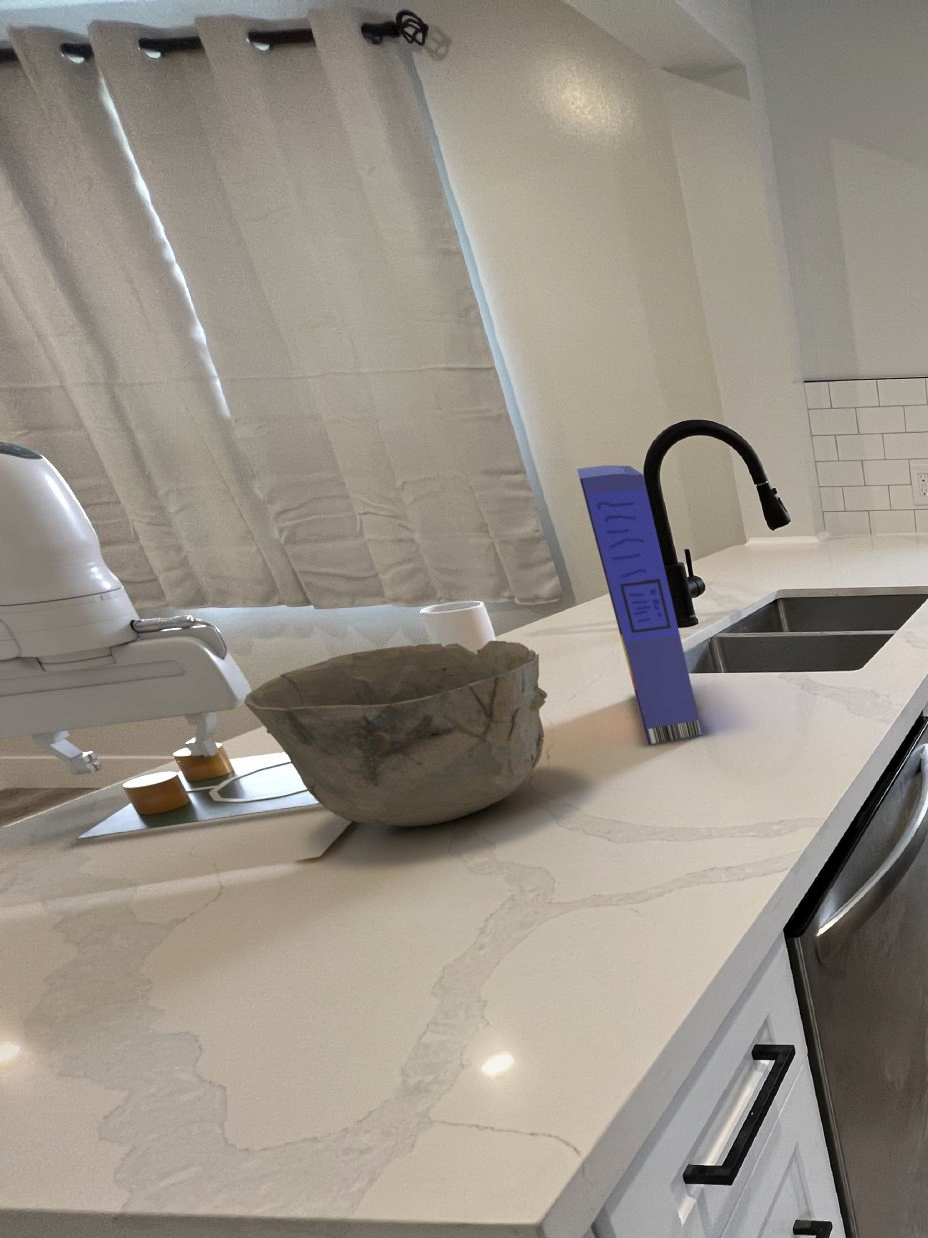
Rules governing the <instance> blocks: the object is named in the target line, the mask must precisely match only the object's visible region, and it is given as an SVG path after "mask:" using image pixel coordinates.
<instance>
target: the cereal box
mask: <svg viewBox="0 0 928 1238" xmlns="http://www.w3.org/2000/svg"><path fill="white" fill-rule="evenodd" d="M576 471H577V474H578V479H579V481H580V482H579V483H580V486H581V490H582V493H583V494H582V495H583V498H584V502H585V505H586V509H587V513H588V517H589V520H590V524H591V528H592V532H593V536H594V541H595V543H596V548H597V552H598V556H599V559H600V563H601V567H602V571H603V575H604V578H605V583H606V587H607V590H608V591H607V592H608V594H609V598H610V602H611V605H612V610H613V613H614V618H615V621H616V626H617V629H618V633H619V637H620V641H621V645H622V649H623V652H624V656H625V661H626V665H627V668H628V671H629V676H630V679H631V683H632V687H633V691H634V695H635V698H636V702H637V706H638V709H639V713H640V717H641V721H642V724H643V728H644V732H645V736H646V739H647V744H648V745H649V746H651V745H657V744H662V743H667V742H673V741H678V740H684V739H690V738H694V737H695V738H696V737H699V736H703V731H702V727H701V722H700V717H699V713H698V709H697V704H696V701H695V697H694V696H695V695H694V692H693V686H692V682H691V679H690V675H689V669H688V666H687V659H686V657H685V653H684V648H683V643H682V638H681V634H680V630H679V626H678V620H677V617H676V613H675V609H674V603H673V600H672V594H671V590H670V586H669V582H668V577H667V573H666V569H665V564H664V560H663V556H662V551H661V546H660V541H659V538H658V533H657V529H656V525H655V521H654V517H653V511H652V508H651V503H650V499H649V494H648V490H647V485H646V481H645V477H644V476H645V475H644V474H643V473H641V472H640V471H638V470H637V469H635V468H634V467H632V466H631V465H618V464H617V465H616V464H615V465H614V464H612V465H610V464H609V465H605V464H604V465H597V466H590V467H582V468H576Z"/></svg>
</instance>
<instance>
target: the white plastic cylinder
mask: <svg viewBox="0 0 928 1238" xmlns="http://www.w3.org/2000/svg"><path fill="white" fill-rule="evenodd" d="M420 614H421V617H422V621H423V625H424V628H425V631H426V634H427V637H428V639H429V643H430V644H441V645H442V646H443V647H445V646H446V645H448V644H455V643H457V644H459V645H461V646H462V647H464V648H466V649H467V650H469V651H471V652H474V653H475V654H476V655H477V650H479V649H482V648H483V647H484V646H485V645H486V644H487V643H488V642H489V641H497V638H496V635H495V631H494V627H493V624H492V621H491V618H490V616H489V615H490V614H489V613H488V610H487V607H486V604H485V603H484V602H483V601H478V600H466V601H454V602H447V603H440V604H435V605H431V606H428V607H427V606H426V607H424V608H422V609H421V610H420Z"/></svg>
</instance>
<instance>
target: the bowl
mask: <svg viewBox="0 0 928 1238" xmlns="http://www.w3.org/2000/svg"><path fill="white" fill-rule="evenodd" d="M539 663H540V654H539V653H537V654H536V652H535V650H533V649H529V648H528V647H527V646H526V645H524V644H523V643H520V642H515V641H507V640H496V641H489V642H488V643H487V644H486V645H485V646H484V647H483V648H482V649H479V650H477V655H476V654H475V653H474V652H471V651H469V650H467V649H466V648H464V647H462V646H461V645H459V644H457V643H455V644H448V645H446V646H445V647H443V646H442V645H441V644H431V643H424V644H421V643H420V644H417V645H410V644H409V645H402V646H401V645H399V646H392V647H384V648H383V647H382V648H377V649H371V650H366V651H358V652H353V653H347V654H343V655H337V656H334V657H329V658H328V659H326V660H323V661H320V662H318V663H314V664H311V665H308V666H305V667H301V668H297V669H294V670H290V671H287V672H284V673H281V674H279V676H277V677H275V678H274V679H271V680H268V681H266V682H264V683H263V684H261V685H260V686H259V687H257V688H256V689H254V690H251V692H250V693H249V694H247V695H246V698H245V700H244V702H245V703H244V704H245V706H246V707H247V708H248V709H249V710H250V711H251V712H252V713H253V715H254V716H255V717H256V718H257V719H258V720H259V722H260V723H261V724H262V725H263V727H264V728H265V729H266V733H267V734H270V735H271V737H272V738H273V739H274V740H275V741H276V742H277V743H278V745H279V746H280V747H281V748H282V750H283V751H284V752H285V753H286V754H287V755H288V757H289V758H290V761H291V763H292V764H293V766H294V767H295V769H296V771H297V772H298V774H299V775H300V777H301V779H302V782H303V784H304V785H305V787H306V788H307V790H308V791H309V793H310V794H312V796H313V797H314V798H315V799H316V800H317V801H318V802H319V803H320V804H319V805H321V806H322V807H324V809H326V810H328V811H329V812H331V813H332V814H334V815H335V816H337V817H340V818H341V819H344V820H347V821H350V822H355V823H359V824H368V825H380V826H387V825H388V826H389V825H390V826H396V827H411V828H413V827H425V826H433V825H438V824H443V823H447V822H448V823H449V822H453V821H455V820H457V819H460V818H464V817H466V816H469V815H472V814H474V813H476V812H479V811H481V810H485V809H486V808H488V807H490V806H491V805H493V804H497V802H500V801H501V800H503V799H505V798H507V797H508V796H509V795H511V794H512V793H513V792H515V791H516V790H517V789H518V788H520V787H521V785H523V783H524V782H525V781H526V780H527V779H528V777H529V776H531V774H532V772H533V770H534V769H535V768H536V766H537V765H538V763H539V762H540V759H541V757H542V754H543V748H544V738H545V731H544V728H543V723H542V720H541V716H540V709H542V707H543V706H544V705H545V704H546V700H545V699H546V698H547V697H548V693H547V692H546V691H545V690H543V689H542V688H540V687H539V677H540V666H539V665H540V664H539Z"/></svg>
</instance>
